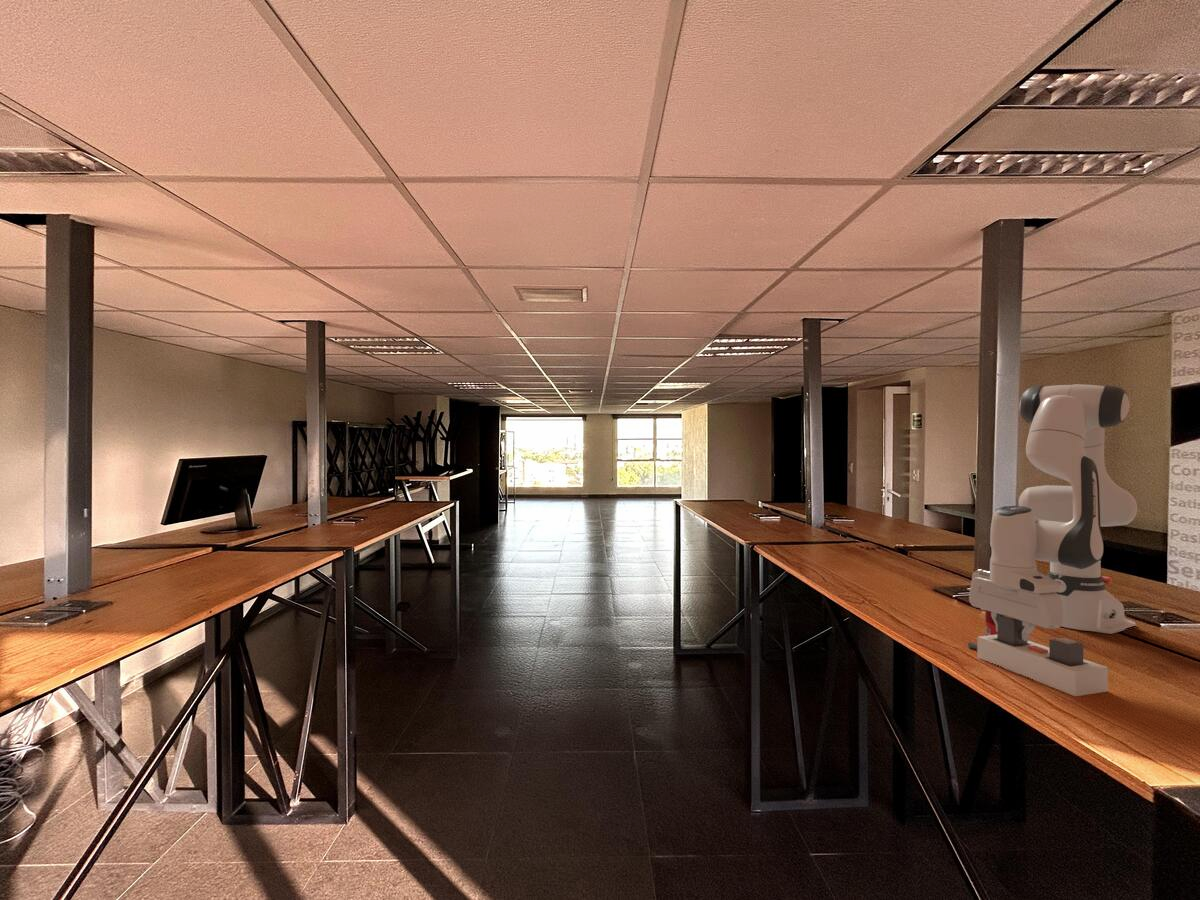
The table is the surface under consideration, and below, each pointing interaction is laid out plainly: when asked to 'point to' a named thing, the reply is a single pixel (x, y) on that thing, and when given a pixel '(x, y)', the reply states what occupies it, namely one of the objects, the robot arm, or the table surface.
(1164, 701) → the table surface
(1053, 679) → the pdu strip
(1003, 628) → the plug
